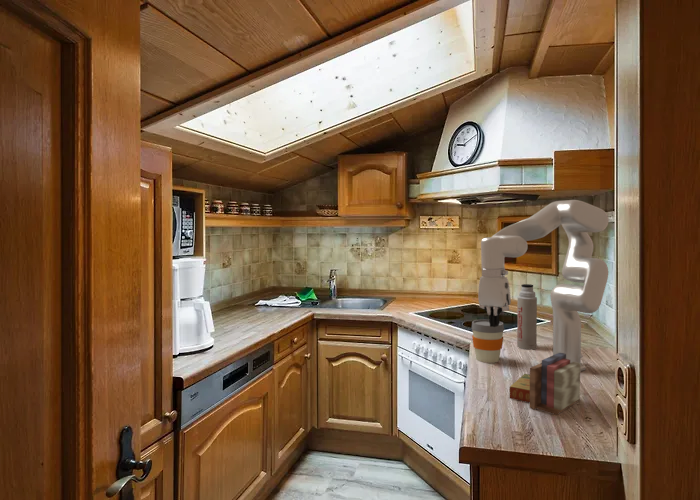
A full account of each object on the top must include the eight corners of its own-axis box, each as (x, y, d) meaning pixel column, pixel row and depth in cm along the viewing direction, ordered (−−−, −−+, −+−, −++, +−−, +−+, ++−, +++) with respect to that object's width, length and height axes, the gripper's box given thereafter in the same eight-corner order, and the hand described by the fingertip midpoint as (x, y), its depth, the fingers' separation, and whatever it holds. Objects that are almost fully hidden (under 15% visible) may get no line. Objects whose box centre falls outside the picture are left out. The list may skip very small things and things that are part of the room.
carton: (508, 399, 139) (508, 385, 139) (524, 384, 151) (524, 372, 151) (536, 405, 134) (536, 391, 134) (550, 389, 146) (550, 376, 146)
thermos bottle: (520, 349, 193) (521, 285, 192) (514, 344, 201) (515, 283, 200) (539, 349, 193) (539, 285, 192) (532, 344, 201) (533, 283, 200)
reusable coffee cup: (472, 353, 188) (472, 318, 187) (503, 356, 184) (504, 320, 183) (470, 362, 176) (470, 324, 175) (503, 365, 172) (504, 326, 171)
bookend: (556, 392, 143) (557, 350, 142) (582, 399, 137) (583, 355, 136) (529, 408, 131) (529, 361, 130) (556, 416, 125) (556, 367, 124)
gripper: (519, 273, 149) (520, 327, 150) (479, 271, 160) (481, 321, 161) (508, 275, 144) (509, 331, 145) (468, 273, 155) (469, 325, 156)
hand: (494, 326), depth 153 cm, fingers closed
